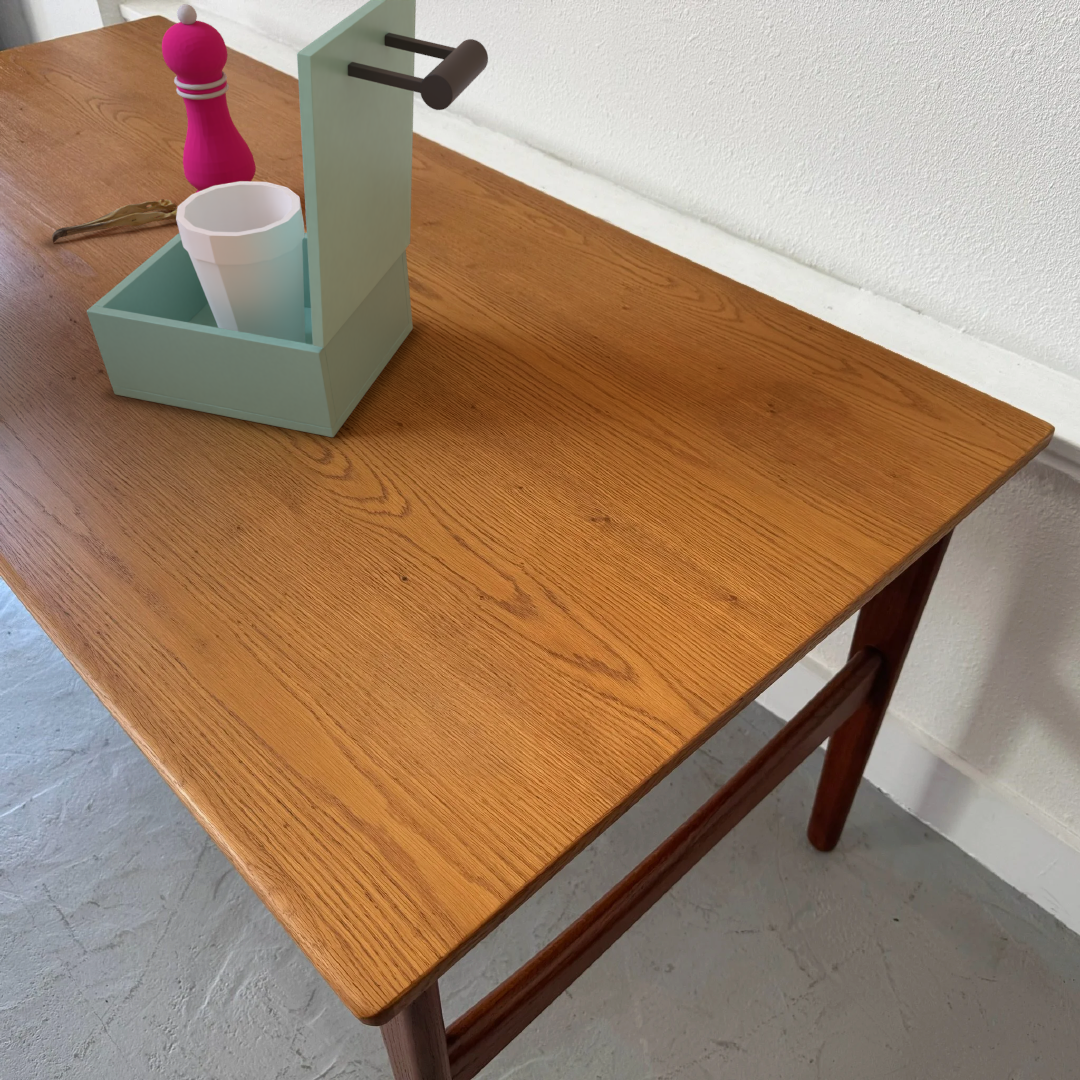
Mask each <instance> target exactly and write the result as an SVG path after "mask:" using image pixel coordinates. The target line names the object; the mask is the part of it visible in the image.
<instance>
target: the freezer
mask: <svg viewBox="0 0 1080 1080" xmlns="http://www.w3.org/2000/svg"><path fill="white" fill-rule="evenodd" d="M304 235H305V237H304V238H303V239H302V250H303V283H304V316H305V343H301V342H295V341H290V340H284V339H278V338H273V337H267V336H262V335H256V334H250V333H245V332H239V331H233V330H228V329H222V328H218V325H217V323H216V320H215V318H214V315H213V313H212V310H211V308H210V305H209V303H208V300H207V298H206V295H205V293H204V291H203V288H202V286H201V283H200V281H199V278H198V276H197V273H196V271H195V268H194V266H193V263H192V261H191V258H190V256H189V253H188V251H187V250H186V249H185V248H184V247H183V244H182V240H181V236H180V232H179V231H178V233H177V234H176V235H174V236H173V237H172V238H171V239H170V240H168V242H166V243H165V244H164V245H163V246H161V247H160V248H159V249H158V250H156V251H155V252H154V253H153V254H152V255H151V256H150V257H148V258H147V259H146V260H145V261H143V262H142V263H141V264H140V265H139V266H138V267H136V268H135V269H134V270H133V271H132V272H131V273H130V274H128V275H127V276H126V277H125V278H124V279H122V280H121V281H120V282H119V283H117V284H116V285H115V286H114V287H113V288H112V289H110V290H109V291H108V292H107V293H106V294H104V295H103V296H102V297H101V298H99V299H98V300H97V301H96V302H95V303H93V305H91V307H89V308H88V309H87V310H86V314H87V317H88V320H89V323H90V326H91V329H92V332H93V336H94V338H95V340H96V344H97V347H98V350H99V353H100V357H101V359H102V361H103V365H104V368H105V370H106V373H107V377H108V379H109V382H110V385H111V388H112V391H113V393H114V395H116V396H121V397H126V398H130V399H131V398H132V399H135V400H141V401H147V402H150V403H151V402H152V403H157V404H161V405H167V406H172V407H177V408H181V409H186V410H191V411H197V412H202V413H207V414H212V415H218V416H223V417H226V418H227V417H228V418H233V419H238V420H243V421H247V422H251V423H252V422H253V423H258V424H263V425H268V426H272V427H278V428H283V429H288V430H293V431H297V432H302V433H309V434H313V435H318V436H323V437H329V438H334V437H335V436H336V435H337V433H338V432H339V431H340V430H341V428H342V427H343V425H344V424H345V422H346V421H347V419H348V418H349V417H350V415H351V414H352V413H353V412H354V410H355V409H356V407H357V406H358V405H359V403H360V402H361V401H362V399H363V398H364V397H365V395H366V394H367V392H368V391H369V390H370V388H371V387H372V385H373V384H374V383H375V382H376V381H377V378H379V376H380V374H381V373H382V372H383V370H384V369H385V368H386V366H387V365H388V364H389V362H390V361H391V360H392V358H393V357H394V356H395V354H396V352H397V351H398V349H399V348H400V347H401V345H402V344H403V343H404V341H405V340H406V339H407V338H408V336H409V334H410V333H411V332H412V330H413V329H414V324H413V313H412V302H411V292H410V291H411V290H410V280H409V271H408V259H407V258H408V257H407V248H406V249H405V250H404V252H403V253H402V254H401V255H400V256H399V258H398V259H397V260H396V261H395V262H394V264H393V265H392V266H391V267H390V269H389V270H388V271H387V272H386V273H385V275H384V276H383V277H382V278H381V279H380V281H379V282H378V283H377V284H376V285H375V287H374V288H373V289H372V290H371V292H370V293H369V294H368V295H367V296H366V298H365V299H364V300H363V301H362V302H361V304H360V305H359V306H358V307H357V309H356V310H355V311H354V312H353V313H352V315H351V316H350V317H349V318H348V319H347V321H346V322H345V323H344V324H343V325H342V327H341V328H340V329H339V330H338V332H337V333H336V334H335V335H334V336H333V338H332V339H331V340H330V341H329V342H328V344H327V345H326V346H325V347H324V348H322V347H318V346H315V345H313V337H312V319H311V300H310V282H309V264H308V246H307V232H304Z"/></svg>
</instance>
